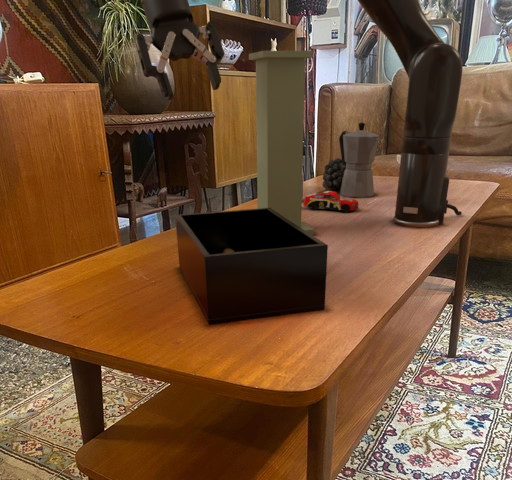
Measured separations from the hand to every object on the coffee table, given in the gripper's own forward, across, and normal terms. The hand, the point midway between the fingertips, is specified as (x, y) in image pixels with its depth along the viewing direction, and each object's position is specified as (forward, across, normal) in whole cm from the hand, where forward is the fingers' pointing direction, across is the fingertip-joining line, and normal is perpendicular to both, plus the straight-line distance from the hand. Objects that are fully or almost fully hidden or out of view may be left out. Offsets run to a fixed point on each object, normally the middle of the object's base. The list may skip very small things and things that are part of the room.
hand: (193, 93), depth 89 cm
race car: (+25, -32, -23) cm, 47 cm away
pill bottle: (+19, -29, -35) cm, 49 cm away
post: (+26, -12, -10) cm, 30 cm away
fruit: (+19, -45, -43) cm, 65 cm away
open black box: (+34, +7, +16) cm, 38 cm away
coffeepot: (+22, -48, -37) cm, 64 cm away
